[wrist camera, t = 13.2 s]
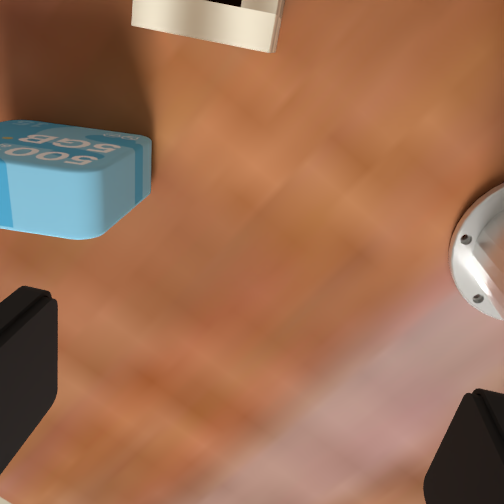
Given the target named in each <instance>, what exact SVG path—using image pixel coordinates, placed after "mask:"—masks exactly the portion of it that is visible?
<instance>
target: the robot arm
mask: <svg viewBox="0 0 504 504" xmlns="http://www.w3.org/2000/svg"><path fill="white" fill-rule="evenodd" d="M465 234H466V236H465V237H464V238H461V237H462V236H463V235H465ZM449 268H450V272H451V276H452V278H453V281H454V283H455V285H456V287H457V288H458V290H459V291H460V293H461V294H462V296H463V298H464V299H465V300H466V301H467V302H468V303H469V304H470V305H471V306H472V307H474V308H476V309H477V310H479V311H480V312H482V313H483V314H485V315H488V316H490V317H493V318H495V319H498V320H503V321H504V183H502V184H500V185H498V186H496V187H494V188H492V189H491V190H489V191H488V192H487V193H485V194H484V195H483V196H481V197H480V198H478V199H477V200H476V201H475V202H474V204H473V205H472V206H471V207H470V208H469V209H468V210H467V211H466V212H465V214H464V215H463V217H462V218H461V219H460V221H459V222H458V224H457V226H456V228H455V231H454V233H453V235H452V238H451V243H450V247H449ZM475 295H476V296H475ZM57 360H58V305H57V301H56V300H55V299H52V297H51V294H50V292H49V291H46V290H41V289H37V288H33V287H28V286H22V287H20V288H18V289H17V290H16V291H15V292H13V293H12V294H11V295H10V296H8V297H7V298H6V299H5V300H3V301H2V302H1V303H0V474H1V473H2V472H3V470H4V469H5V468H6V466H7V465H8V464H9V462H10V461H11V460H12V458H13V457H14V456H15V454H16V453H17V452H18V450H19V449H20V448H21V446H22V445H23V444H24V442H25V441H26V440H27V438H28V437H29V436H30V434H31V433H32V432H33V430H34V429H35V428H36V426H37V425H38V424H39V422H40V421H41V419H42V418H43V417H44V415H45V414H46V413H47V411H48V410H49V409H50V407H51V406H52V404H53V403H54V400H55V398H56V395H57ZM423 489H424V497H425V501H426V504H504V394H502V393H497V392H493V391H488V390H484V389H476V390H474V391H473V393H472V394H471V393H466V394H465V395H464V397H463V399H462V401H461V403H460V405H459V407H458V409H457V411H456V413H455V415H454V417H453V419H452V422H451V424H450V426H449V428H448V430H447V432H446V434H445V436H444V438H443V440H442V442H441V444H440V447H439V449H438V451H437V453H436V455H435V457H434V459H433V461H432V463H431V465H430V467H429V470H428V472H427V474H426V476H425V479H424V486H423Z"/></svg>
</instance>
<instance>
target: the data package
mask: <svg viewBox="0 0 504 504" xmlns="http://www.w3.org/2000/svg"><path fill="white" fill-rule="evenodd" d="M151 152H152V141H151V139H149V138H148V137H145V136H142V135H136V134H129V133H122V132H114V131H107V130H99V129H92V128H85V127H77V126H70V125H62V124H55V123H47V122H40V121H32V120H9V121H4V122H0V228H2V229H8V230H15V231H21V232H28V233H34V234H41V235H47V236H54V237H61V238H67V239H78V240H80V239H90V238H95V237H98V236H100V235H102V234H104V233H105V232H106V231H107V230H109V229H110V228H111V227H112V226H113V225H114V224H115V223H117V222H118V221H119V220H120V219H121V218H122V217H124V216H125V215H126V214H127V213H128V212H129V211H131V210H132V209H133V208H134V207H135V206H136V205H138V204H139V203H140V202H141V201H142V200H143V199H145V198H146V197H147V196H148V195H149V194H150V192H151Z"/></svg>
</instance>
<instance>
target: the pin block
mask: <svg viewBox="0 0 504 504" xmlns="http://www.w3.org/2000/svg"><path fill="white" fill-rule="evenodd" d="M284 3H285V0H242V2H241V7H236V6H231V5H226V4H221V3H216V2H211V1H206V0H133V6H132V22H131V26H136V27H141V28H146V29H152V30H157V31H162V32H167V33H172V34H177V35H182V36H187V37H192V38H197V39H202V40H207V41H212V42H217V43H222V44H227V45H232V46H237V47H242V48H247V49H252V50H257V51H263V52H268V53H275V52H276V46H277V41H278V36H279V30H280V25H281V19H282V14H283V8H284Z"/></svg>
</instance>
